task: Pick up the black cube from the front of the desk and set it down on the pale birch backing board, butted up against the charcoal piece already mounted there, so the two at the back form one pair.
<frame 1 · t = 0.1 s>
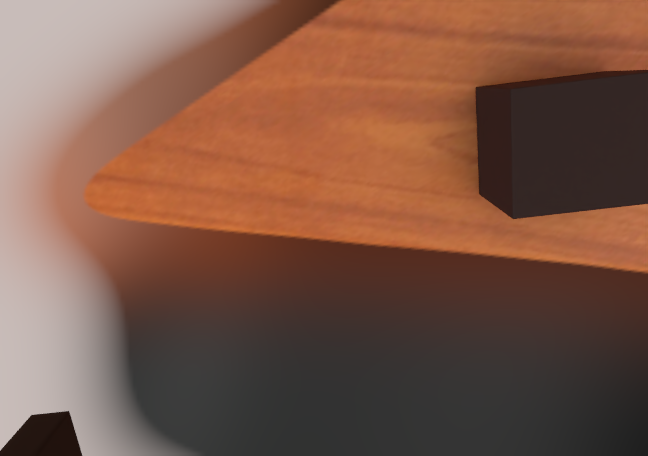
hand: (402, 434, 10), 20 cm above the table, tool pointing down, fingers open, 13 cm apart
black cube: (540, 134, 29), on the table
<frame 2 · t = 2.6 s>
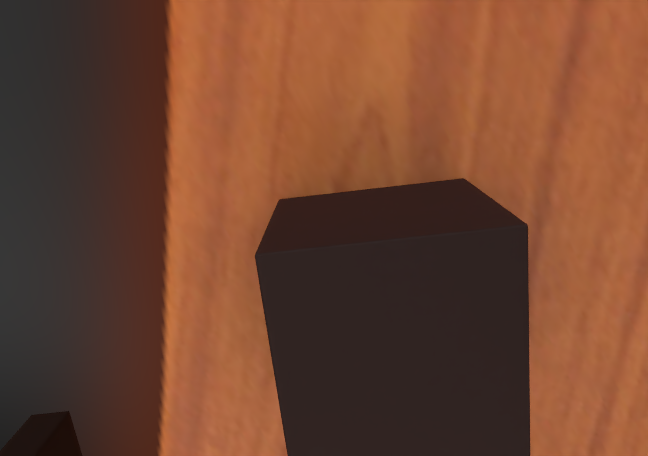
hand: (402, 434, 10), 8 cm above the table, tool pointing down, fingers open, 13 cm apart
black cube: (380, 289, 17), on the table
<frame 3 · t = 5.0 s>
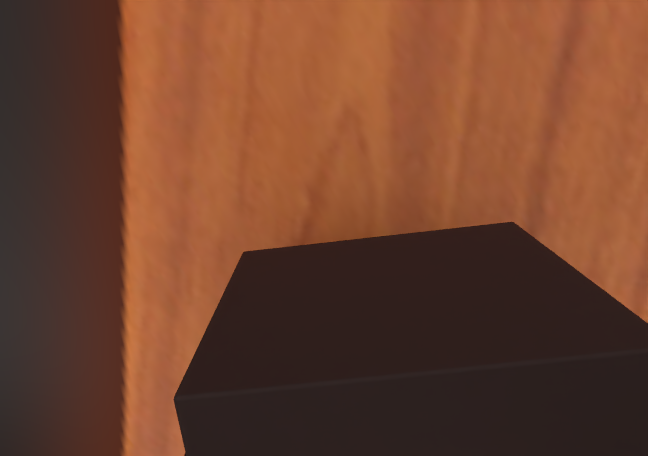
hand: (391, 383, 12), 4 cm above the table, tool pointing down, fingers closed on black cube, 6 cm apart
black cube: (389, 375, 12), point 4 cm above the table, touching gripper
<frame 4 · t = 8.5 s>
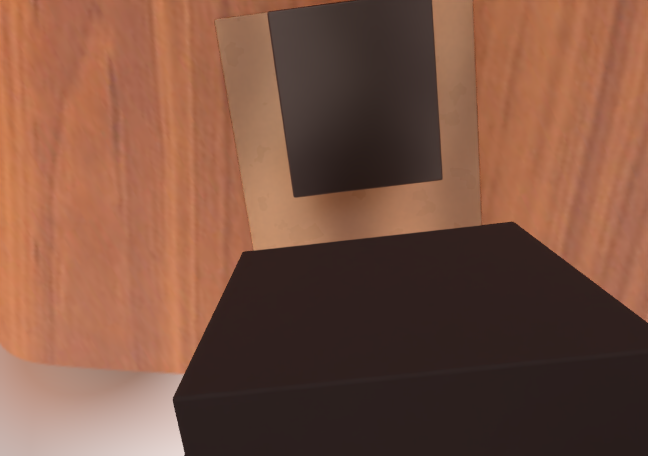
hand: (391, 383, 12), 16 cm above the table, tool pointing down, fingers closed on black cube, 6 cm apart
backing board: (358, 168, 27), on the table
black cube: (389, 375, 12), point 16 cm above the table, touching gripper
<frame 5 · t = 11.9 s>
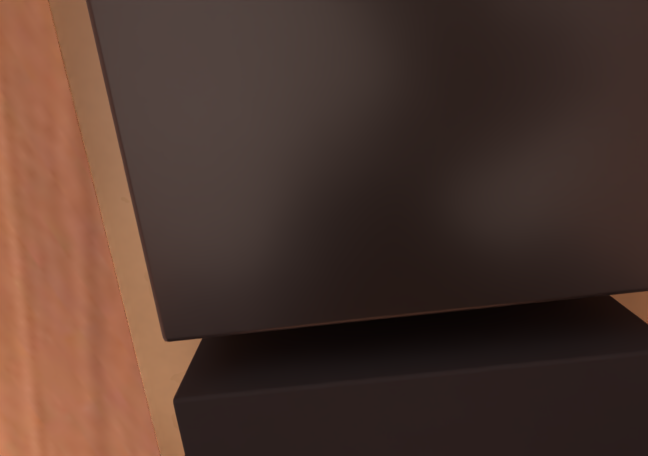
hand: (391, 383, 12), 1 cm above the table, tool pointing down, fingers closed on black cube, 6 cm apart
backing board: (372, 204, 12), on the table
black cube: (389, 375, 12), point 1 cm above the table, touching backing board, gripper
when the fingers open (2 cm above the table, at t = 12.1 s): black cube stays where it is, resting on backing board.
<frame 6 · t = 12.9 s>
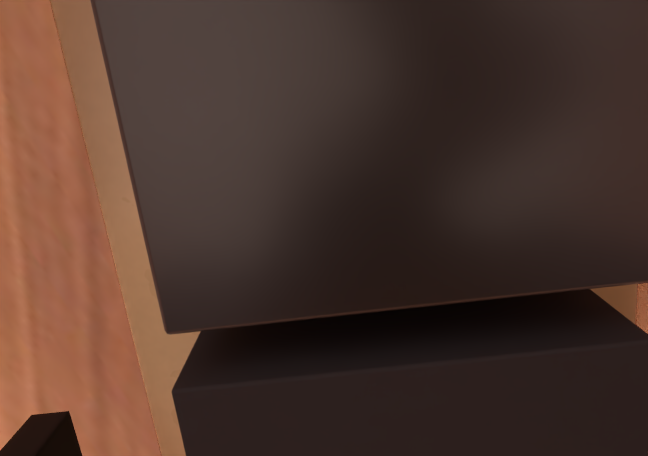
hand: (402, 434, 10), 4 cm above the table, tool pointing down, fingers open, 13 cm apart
backing board: (367, 204, 13), on the table
black cube: (383, 371, 13), point 1 cm above the table, touching backing board
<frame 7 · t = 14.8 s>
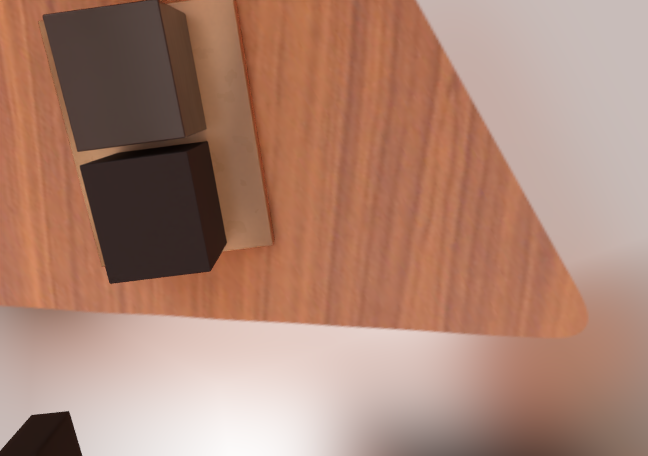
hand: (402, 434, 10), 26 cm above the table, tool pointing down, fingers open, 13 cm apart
backing board: (167, 138, 34), on the table
black cube: (173, 199, 34), point 1 cm above the table, touching backing board
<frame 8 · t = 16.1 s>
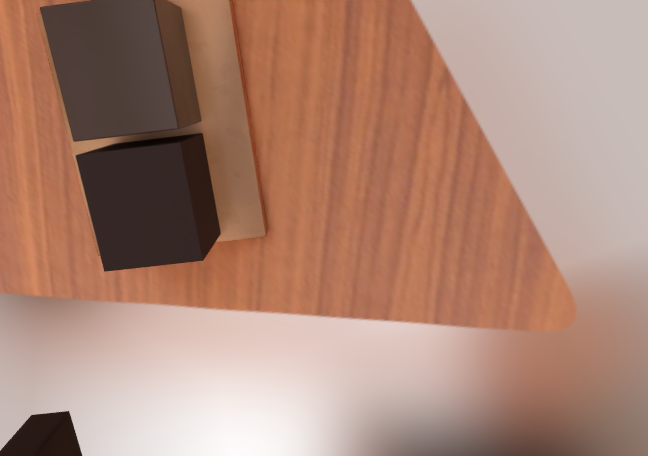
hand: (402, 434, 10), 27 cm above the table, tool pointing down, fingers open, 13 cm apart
backing board: (163, 129, 35), on the table
black cube: (168, 190, 35), point 1 cm above the table, touching backing board
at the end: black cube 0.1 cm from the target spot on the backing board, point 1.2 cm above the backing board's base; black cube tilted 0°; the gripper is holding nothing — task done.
